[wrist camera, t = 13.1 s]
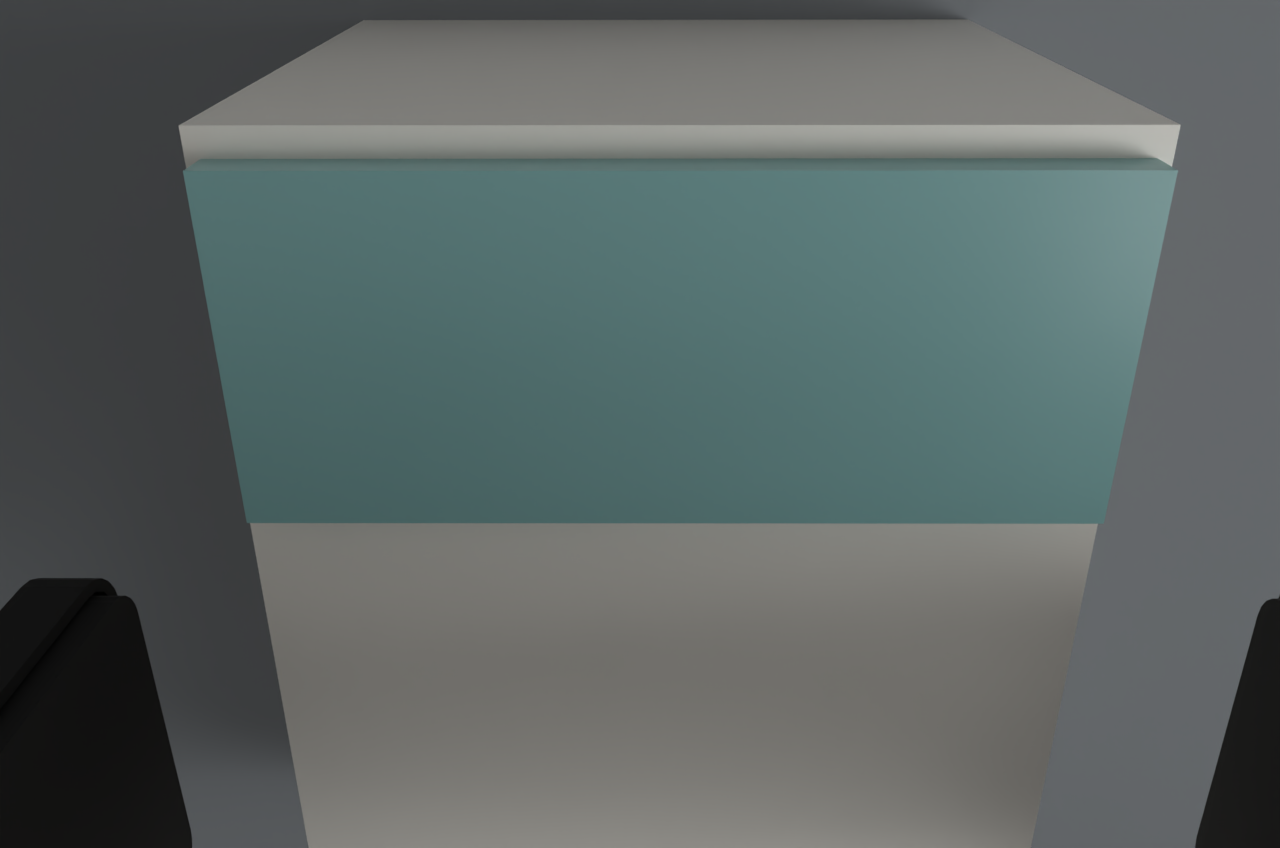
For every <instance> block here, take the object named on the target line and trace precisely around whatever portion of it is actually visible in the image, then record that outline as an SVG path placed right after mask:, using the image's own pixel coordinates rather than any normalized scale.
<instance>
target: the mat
mask: <svg viewBox="0 0 1280 848" xmlns="http://www.w3.org/2000/svg"><path fill="white" fill-rule="evenodd" d="M915 19H968V20H970V21H972V22H974V23H976V24H978V25H980V26H982V27H984V28H986V29H988V30H990V31H992V32H994V33H996V34H998V35H1000V36H1002V37H1004V38H1006V39H1008V40H1010V41H1012V42H1014V43H1016V44H1019V45H1021V46H1023V47H1025V48H1027V49H1029V50H1031V51H1033V52H1035V53H1037V54H1039V55H1041V56H1043V57H1045V58H1047V59H1049V60H1051V61H1053V62H1055V63H1057V64H1059V65H1061V66H1063V67H1065V68H1067V69H1069V70H1071V71H1073V72H1075V73H1077V74H1079V75H1081V76H1083V77H1085V78H1087V79H1089V80H1091V81H1093V82H1095V83H1097V84H1099V85H1101V86H1103V87H1105V88H1107V89H1109V90H1112V91H1114V92H1116V93H1118V94H1120V95H1122V96H1124V97H1126V98H1128V99H1130V100H1132V101H1134V102H1136V103H1138V104H1140V105H1142V106H1144V107H1146V108H1148V109H1150V110H1152V111H1154V112H1156V113H1158V114H1160V115H1162V116H1164V117H1166V118H1168V119H1170V120H1172V121H1174V122H1176V123H1178V124H1180V125H1181V126H1180V131H1179V136H1178V140H1177V145H1176V150H1175V155H1174V160H1173V164H1172V167H1173V168H1175V169H1177V170H1178V173H1177V178H1176V183H1175V187H1174V192H1173V197H1172V202H1171V206H1170V211H1169V216H1168V221H1167V225H1166V230H1165V235H1164V240H1163V244H1162V249H1161V254H1160V259H1159V263H1158V268H1157V273H1156V278H1155V282H1154V287H1153V292H1152V297H1151V302H1150V306H1149V311H1148V316H1147V321H1146V325H1145V330H1144V335H1143V340H1142V344H1141V349H1140V354H1139V359H1138V363H1137V368H1136V373H1135V378H1134V382H1133V387H1132V392H1131V397H1130V401H1129V406H1128V411H1127V416H1126V420H1125V425H1124V430H1123V435H1122V439H1121V444H1120V449H1119V454H1118V458H1117V463H1116V468H1115V473H1114V477H1113V482H1112V487H1111V492H1110V497H1109V501H1108V506H1107V511H1106V516H1105V520H1104V524H1098V526H1097V531H1096V535H1095V540H1094V545H1093V550H1092V555H1091V560H1090V564H1089V569H1088V574H1087V579H1086V584H1085V588H1084V593H1083V598H1082V603H1081V608H1080V612H1079V617H1078V622H1077V627H1076V632H1075V637H1074V641H1073V646H1072V651H1071V656H1070V661H1069V665H1068V670H1067V675H1066V680H1065V685H1064V690H1063V694H1062V699H1061V704H1060V709H1059V714H1058V718H1057V723H1056V728H1055V733H1054V738H1053V743H1052V747H1051V752H1050V757H1049V762H1048V767H1047V771H1046V776H1045V781H1044V786H1043V791H1042V796H1041V800H1040V805H1039V810H1038V815H1037V820H1036V824H1035V829H1034V834H1033V839H1032V844H1031V848H1195V844H1196V838H1197V834H1198V830H1199V826H1200V823H1201V819H1202V815H1203V812H1204V808H1205V805H1206V801H1207V797H1208V794H1209V790H1210V786H1211V783H1212V779H1213V775H1214V772H1215V768H1216V765H1217V761H1218V757H1219V754H1220V750H1221V746H1222V743H1223V739H1224V735H1225V732H1226V728H1227V725H1228V721H1229V717H1230V714H1231V710H1232V706H1233V703H1234V699H1235V695H1236V692H1237V688H1238V685H1239V681H1240V677H1241V674H1242V670H1243V666H1244V663H1245V659H1246V656H1247V652H1248V648H1249V645H1250V641H1251V637H1252V634H1253V630H1254V626H1255V623H1256V619H1257V616H1258V613H1259V611H1260V608H1261V606H1262V605H1263V604H1264V603H1265V602H1266V601H1267V600H1270V599H1278V598H1279V596H1280V0H0V610H1V609H2V608H3V607H4V605H5V604H6V603H7V602H8V601H9V600H10V599H11V598H12V597H13V595H14V594H15V593H16V592H17V591H18V590H19V589H20V588H21V587H22V586H23V585H24V584H25V583H27V582H28V581H29V580H32V579H37V578H103V579H105V580H107V581H109V582H110V583H111V584H112V586H113V587H114V588H115V590H116V593H117V595H118V596H128V597H130V598H131V599H132V600H133V602H134V603H135V605H136V608H137V611H138V614H139V618H140V622H141V626H142V630H143V634H144V639H145V643H146V647H147V651H148V655H149V659H150V663H151V667H152V672H153V676H154V680H155V684H156V688H157V692H158V696H159V700H160V705H161V709H162V713H163V717H164V721H165V725H166V729H167V733H168V738H169V742H170V746H171V750H172V754H173V758H174V762H175V766H176V771H177V775H178V779H179V783H180V787H181V791H182V795H183V799H184V804H185V808H186V812H187V816H188V820H189V824H190V828H191V834H192V848H309V847H308V842H307V836H306V831H305V825H304V820H303V814H302V808H301V803H300V797H299V792H298V786H297V781H296V775H295V770H294V764H293V759H292V753H291V747H290V742H289V736H288V731H287V725H286V720H285V714H284V709H283V703H282V697H281V692H280V686H279V681H278V675H277V670H276V664H275V659H274V653H273V648H272V642H271V636H270V631H269V625H268V620H267V614H266V609H265V603H264V598H263V592H262V586H261V581H260V575H259V570H258V564H257V559H256V553H255V548H254V542H253V537H252V531H251V525H250V523H247V521H246V516H245V510H244V505H243V499H242V494H241V488H240V483H239V477H238V472H237V466H236V461H235V455H234V450H233V444H232V439H231V433H230V428H229V422H228V417H227V411H226V406H225V400H224V395H223V389H222V384H221V378H220V373H219V367H218V362H217V356H216V351H215V345H214V340H213V334H212V329H211V323H210V318H209V312H208V307H207V301H206V296H205V290H204V285H203V279H202V274H201V268H200V262H199V257H198V251H197V246H196V240H195V235H194V229H193V224H192V218H191V213H190V207H189V202H188V196H187V191H186V185H185V180H184V174H183V171H184V170H185V169H186V165H185V159H184V154H183V148H182V143H181V137H180V131H179V126H178V125H180V124H182V123H184V122H186V121H187V120H189V119H191V118H193V117H194V116H196V115H198V114H200V113H201V112H203V111H205V110H207V109H208V108H210V107H212V106H214V105H215V104H217V103H219V102H221V101H222V100H224V99H226V98H228V97H229V96H231V95H233V94H235V93H236V92H238V91H240V90H242V89H243V88H245V87H247V86H249V85H251V84H252V83H254V82H256V81H258V80H259V79H261V78H263V77H265V76H266V75H268V74H270V73H272V72H273V71H275V70H277V69H279V68H280V67H282V66H284V65H286V64H287V63H289V62H291V61H293V60H294V59H296V58H298V57H300V56H301V55H303V54H305V53H307V52H308V51H310V50H312V49H314V48H316V47H317V46H319V45H321V44H323V43H324V42H326V41H328V40H330V39H331V38H333V37H335V36H337V35H338V34H340V33H342V32H344V31H345V30H347V29H349V28H351V27H352V26H354V25H356V24H358V23H359V22H361V21H363V20H915Z"/></svg>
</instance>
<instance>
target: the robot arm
mask: <svg viewBox="0 0 1280 848" xmlns="http://www.w3.org/2000/svg"><path fill="white" fill-rule="evenodd" d="M0 848H192V834H191V828H190V824H189V820H188V816H187V812H186V808H185V804H184V799H183V795H182V791H181V787H180V783H179V779H178V775H177V771H176V766H175V762H174V758H173V754H172V750H171V746H170V742H169V738H168V733H167V729H166V725H165V721H164V717H163V713H162V709H161V705H160V700H159V696H158V692H157V688H156V684H155V680H154V676H153V672H152V667H151V663H150V659H149V655H148V651H147V647H146V643H145V639H144V634H143V630H142V626H141V622H140V618H139V614H138V611H137V608H136V605H135V603H134V602H133V600H132V599H131V598H130V597H128V596H118V595H117V593H116V590H115V588H114V587H113V586H112V584H111V583H110V582H109V581H107V580H105V579H103V578H37V579H32V580H29V581H28V582H27V583H25V584H24V585H23V586H22V587H21V588H20V589H19V590H18V591H17V592H16V593H15V594H14V595H13V597H12V598H11V599H10V600H9V601H8V602H7V603H6V604H5V605H4V607H3V608H2V609H1V610H0ZM1195 848H1280V596H1279V598H1278V599H1270V600H1267V601H1266V602H1265V603H1264V604H1263V605H1262V606H1261V608H1260V611H1259V613H1258V616H1257V619H1256V623H1255V626H1254V630H1253V634H1252V637H1251V641H1250V645H1249V648H1248V652H1247V656H1246V659H1245V663H1244V666H1243V670H1242V674H1241V677H1240V681H1239V685H1238V688H1237V692H1236V695H1235V699H1234V703H1233V706H1232V710H1231V714H1230V717H1229V721H1228V725H1227V728H1226V732H1225V735H1224V739H1223V743H1222V746H1221V750H1220V754H1219V757H1218V761H1217V765H1216V768H1215V772H1214V775H1213V779H1212V783H1211V786H1210V790H1209V794H1208V797H1207V801H1206V805H1205V808H1204V812H1203V815H1202V819H1201V823H1200V826H1199V830H1198V834H1197V838H1196V844H1195Z"/></svg>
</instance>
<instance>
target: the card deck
mask: <svg viewBox="0 0 1280 848" xmlns="http://www.w3.org/2000/svg"><path fill="white" fill-rule="evenodd" d="M178 126H179V131H180V137H181V143H182V148H183V154H184V159H185V165H186V169H185V170H184V171H183V174H184V180H185V185H186V191H187V196H188V202H189V207H190V213H191V218H192V224H193V229H194V235H195V240H196V246H197V251H198V257H199V262H200V268H201V274H202V279H203V285H204V290H205V296H206V301H207V307H208V312H209V318H210V323H211V329H212V334H213V340H214V345H215V351H216V356H217V362H218V367H219V373H220V378H221V384H222V389H223V395H224V400H225V406H226V411H227V417H228V422H229V428H230V433H231V439H232V444H233V450H234V455H235V461H236V466H237V472H238V477H239V483H240V488H241V494H242V499H243V505H244V510H245V516H246V521H247V523H250V525H251V531H252V537H253V542H254V548H255V553H256V559H257V564H258V570H259V575H260V581H261V586H262V592H263V598H264V603H265V609H266V614H267V620H268V625H269V631H270V636H271V642H272V648H273V653H274V659H275V664H276V670H277V675H278V681H279V686H280V692H281V697H282V703H283V709H284V714H285V720H286V725H287V731H288V736H289V742H290V747H291V753H292V759H293V764H294V770H295V775H296V781H297V786H298V792H299V797H300V803H301V808H302V814H303V820H304V825H305V831H306V836H307V842H308V847H309V848H1031V844H1032V839H1033V834H1034V829H1035V824H1036V820H1037V815H1038V810H1039V805H1040V800H1041V796H1042V791H1043V786H1044V781H1045V776H1046V771H1047V767H1048V762H1049V757H1050V752H1051V747H1052V743H1053V738H1054V733H1055V728H1056V723H1057V718H1058V714H1059V709H1060V704H1061V699H1062V694H1063V690H1064V685H1065V680H1066V675H1067V670H1068V665H1069V661H1070V656H1071V651H1072V646H1073V641H1074V637H1075V632H1076V627H1077V622H1078V617H1079V612H1080V608H1081V603H1082V598H1083V593H1084V588H1085V584H1086V579H1087V574H1088V569H1089V564H1090V560H1091V555H1092V550H1093V545H1094V540H1095V535H1096V531H1097V526H1098V524H1104V520H1105V516H1106V511H1107V506H1108V501H1109V497H1110V492H1111V487H1112V482H1113V477H1114V473H1115V468H1116V463H1117V458H1118V454H1119V449H1120V444H1121V439H1122V435H1123V430H1124V425H1125V420H1126V416H1127V411H1128V406H1129V401H1130V397H1131V392H1132V387H1133V382H1134V378H1135V373H1136V368H1137V363H1138V359H1139V354H1140V349H1141V344H1142V340H1143V335H1144V330H1145V325H1146V321H1147V316H1148V311H1149V306H1150V302H1151V297H1152V292H1153V287H1154V282H1155V278H1156V273H1157V268H1158V263H1159V259H1160V254H1161V249H1162V244H1163V240H1164V235H1165V230H1166V225H1167V221H1168V216H1169V211H1170V206H1171V202H1172V197H1173V192H1174V187H1175V183H1176V178H1177V173H1178V170H1177V169H1175V168H1173V167H1172V164H1173V160H1174V155H1175V150H1176V145H1177V140H1178V136H1179V131H1180V126H1181V125H1180V124H1178V123H1176V122H1174V121H1172V120H1170V119H1168V118H1166V117H1164V116H1162V115H1160V114H1158V113H1156V112H1154V111H1152V110H1150V109H1148V108H1146V107H1144V106H1142V105H1140V104H1138V103H1136V102H1134V101H1132V100H1130V99H1128V98H1126V97H1124V96H1122V95H1120V94H1118V93H1116V92H1114V91H1112V90H1109V89H1107V88H1105V87H1103V86H1101V85H1099V84H1097V83H1095V82H1093V81H1091V80H1089V79H1087V78H1085V77H1083V76H1081V75H1079V74H1077V73H1075V72H1073V71H1071V70H1069V69H1067V68H1065V67H1063V66H1061V65H1059V64H1057V63H1055V62H1053V61H1051V60H1049V59H1047V58H1045V57H1043V56H1041V55H1039V54H1037V53H1035V52H1033V51H1031V50H1029V49H1027V48H1025V47H1023V46H1021V45H1019V44H1016V43H1014V42H1012V41H1010V40H1008V39H1006V38H1004V37H1002V36H1000V35H998V34H996V33H994V32H992V31H990V30H988V29H986V28H984V27H982V26H980V25H978V24H976V23H974V22H972V21H970V20H968V19H915V20H363V21H361V22H359V23H358V24H356V25H354V26H352V27H351V28H349V29H347V30H345V31H344V32H342V33H340V34H338V35H337V36H335V37H333V38H331V39H330V40H328V41H326V42H324V43H323V44H321V45H319V46H317V47H316V48H314V49H312V50H310V51H308V52H307V53H305V54H303V55H301V56H300V57H298V58H296V59H294V60H293V61H291V62H289V63H287V64H286V65H284V66H282V67H280V68H279V69H277V70H275V71H273V72H272V73H270V74H268V75H266V76H265V77H263V78H261V79H259V80H258V81H256V82H254V83H252V84H251V85H249V86H247V87H245V88H243V89H242V90H240V91H238V92H236V93H235V94H233V95H231V96H229V97H228V98H226V99H224V100H222V101H221V102H219V103H217V104H215V105H214V106H212V107H210V108H208V109H207V110H205V111H203V112H201V113H200V114H198V115H196V116H194V117H193V118H191V119H189V120H187V121H186V122H184V123H182V124H180V125H178Z"/></svg>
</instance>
